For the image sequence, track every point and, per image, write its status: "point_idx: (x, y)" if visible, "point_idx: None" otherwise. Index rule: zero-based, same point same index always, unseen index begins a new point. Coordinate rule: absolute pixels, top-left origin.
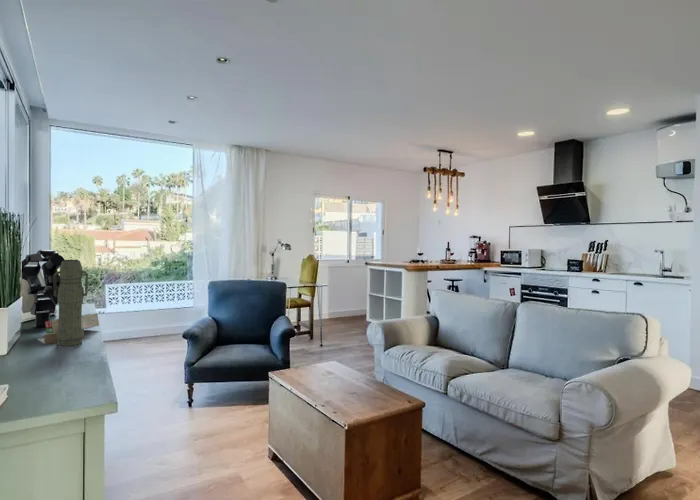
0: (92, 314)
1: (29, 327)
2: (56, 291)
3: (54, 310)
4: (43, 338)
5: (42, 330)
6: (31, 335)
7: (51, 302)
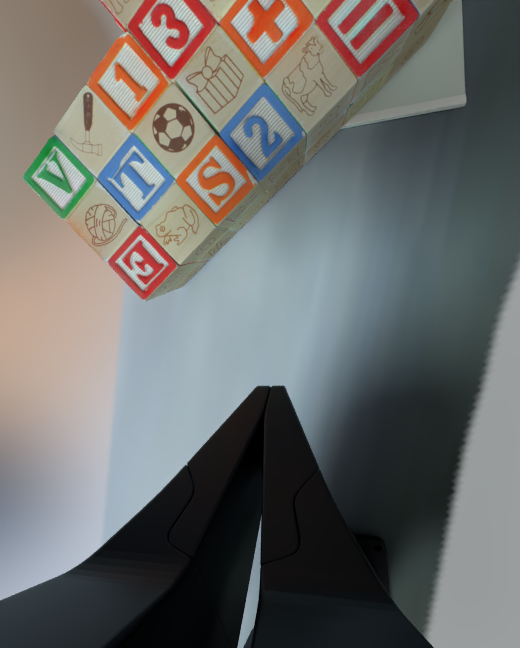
0: (62, 124)
1: (414, 596)
2: (156, 637)
3: (247, 645)
4: (430, 100)
5: (368, 421)
6: (465, 286)
7: None
